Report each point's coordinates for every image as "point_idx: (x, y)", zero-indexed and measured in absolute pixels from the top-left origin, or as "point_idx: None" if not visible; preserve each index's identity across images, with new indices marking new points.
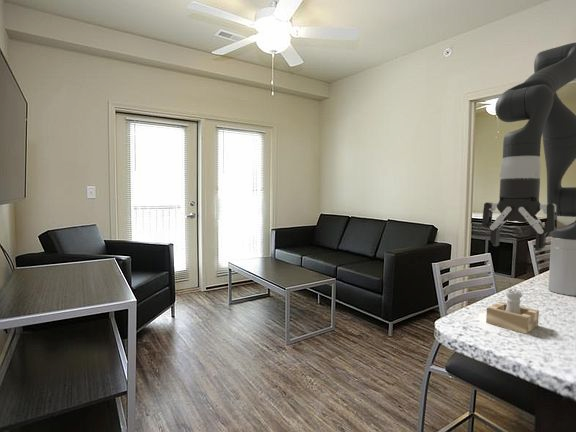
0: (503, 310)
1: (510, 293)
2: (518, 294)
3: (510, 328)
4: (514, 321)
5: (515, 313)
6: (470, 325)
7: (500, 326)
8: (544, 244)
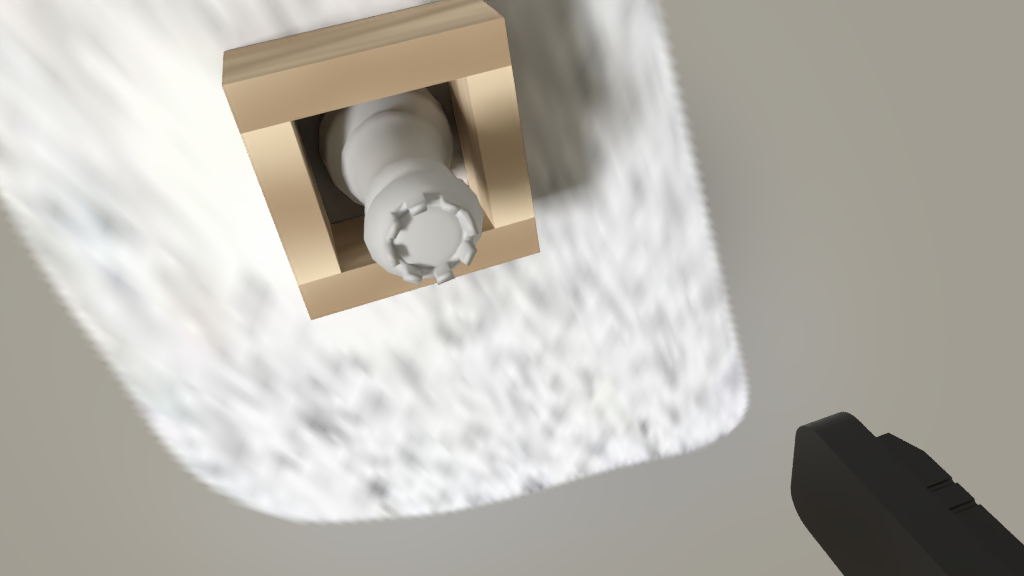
0: None
1: (427, 276)
2: (474, 245)
3: None
4: None
5: None
6: (305, 377)
7: None
8: (930, 484)
